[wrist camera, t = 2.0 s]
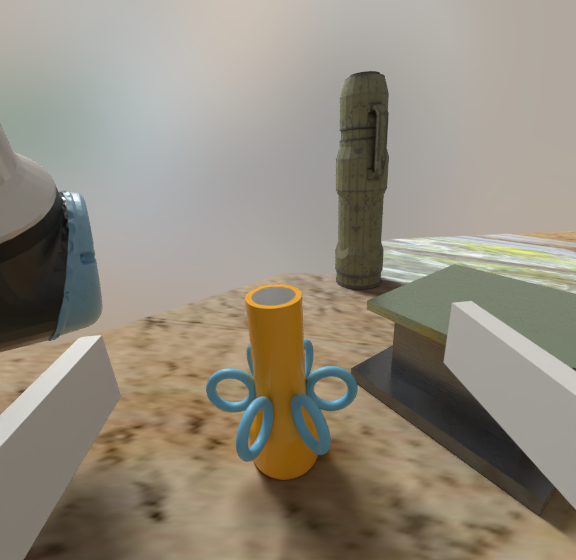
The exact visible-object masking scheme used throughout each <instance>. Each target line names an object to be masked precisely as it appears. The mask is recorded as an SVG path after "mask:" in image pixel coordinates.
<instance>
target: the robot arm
mask: <svg viewBox="0 0 576 560" xmlns="http://www.w3.org/2000/svg"><path fill="white" fill-rule="evenodd" d="M101 312H102V296H101V288H100V281H99V275H98V269H97V263H96V259H95V252H94V246H93V238H92V233H91V227H90V222H89V217H88V212H87V208H86V204H85V201H84V198H83V197H82V196H81V195H80V194H77V193H70V192H67V191H61V192H58V190H57V188H56V185H55V183H54V180H53V179H52V177H51V175H50V174H49V173H48V171H47V170H46V169H45V168H44V167H42V166H41V165H40V164H38V163H36V162H35V161H33V160H31V159H29V158H26V157H24V156H22V155H20V154H17V153H15V152H13V151H12V149H11V146H10V144H9V142H8V139H7V137H6V135H5V133H4V131H3V129H2V127H1V124H0V352H3V351H7V350H11V349H15V348H19V347H23V346H27V345H31V344H35V343H39V342H43V341H47V340H49V341H50V340H55V339H56V338H58V337H59V336H60V335H63V334H67V333H69V332H73V331H76V330H79V329H82V328H86V327H88V326H90V325H92V324H94V323H95V322H96V321H97V320H98V318H99V317H100V315H101ZM443 363H444V364H445V365H446V366H447V367H448V368H449V369H450V370H451V371H452V373H453V374H454V375H455V376H456V377H457V378H458V379H459V380H460V382H461V383H462V384H463V385H464V386H465V387H466V388H467V389H468V390H469V392H470V393H471V394H472V395H473V396H474V397H475V398H476V399H477V400H478V402H479V403H480V404H481V405H482V406H483V407H484V408H485V409H486V410H487V412H488V413H489V414H490V415H491V416H492V417H493V418H494V419H495V420H496V422H497V423H498V424H499V425H500V426H501V427H502V428H503V429H504V430H505V432H506V433H507V434H508V435H509V436H510V437H511V438H512V439H513V440H514V442H515V443H516V444H517V445H518V446H519V447H520V448H521V449H522V450H523V452H524V453H525V454H526V455H527V456H528V457H529V458H530V459H531V461H532V462H533V463H534V464H535V465H536V466H537V467H538V468H539V469H540V471H541V472H542V473H543V474H544V475H545V476H546V477H547V478H548V479H549V481H550V482H551V483H552V484H553V485H554V486H555V487H556V488H557V489H558V491H559V492H560V493H561V494H562V495H563V496H564V497H565V498H566V499H567V501H568V502H569V503H570V504H571V505H572V506H573V507H574V508H575V509H576V368H570V367H569V366H567V365H566V364H564V363H563V362H561V361H560V360H558V359H557V358H555V357H554V356H552V355H551V354H549V353H548V352H546V351H545V350H543V349H542V348H541V347H539V346H538V345H536V344H535V343H533V342H532V341H530V340H529V339H527V338H526V337H524V336H523V335H521V334H520V333H518V332H517V331H515V330H514V329H512V328H511V327H509V326H508V325H506V324H505V323H503V322H502V321H500V320H499V319H497V318H496V317H494V316H493V315H491V314H490V313H488V312H487V311H485V310H484V309H482V308H481V307H479V306H478V305H477V304H475V303H474V302H472V301H465V302H455V303H452V306H451V313H450V320H449V327H448V334H447V341H446V348H445V355H444V362H443ZM120 397H121V394H120V391H119V388H118V385H117V382H116V378H115V375H114V372H113V369H112V366H111V363H110V360H109V357H108V354H107V350H106V347H105V344H104V341H103V338H102V335H100V336H89V337H80V338H79V339H78V340H77V341H76V342H75V343H74V344H73V345H72V346H70V347H69V348H68V349H67V350H66V351H65V352H64V353H63V354H62V355H61V356H60V357H59V358H58V359H57V360H56V361H55V362H54V363H53V364H52V365H51V366H50V367H49V368H48V369H47V370H46V371H45V372H44V373H43V374H42V375H41V376H40V377H39V378H38V379H37V380H36V381H35V382H34V383H33V384H32V385H31V386H30V387H29V388H28V389H27V390H25V391H24V392H23V393H22V394H21V395H20V396H19V397H18V398H17V399H16V400H15V401H14V402H13V403H12V404H11V405H10V406H9V407H8V408H7V409H6V410H5V411H4V412H3V413H2V414H1V415H0V560H24V558H25V557H26V555H27V553H28V551H29V550H30V548H31V546H32V545H33V543H34V541H35V540H36V538H37V536H38V535H39V533H40V531H41V530H42V528H43V526H44V525H45V523H46V521H47V520H48V518H49V516H50V514H51V513H52V511H53V509H54V508H55V506H56V504H57V503H58V501H59V499H60V498H61V496H62V494H63V493H64V491H65V489H66V488H67V486H68V484H69V483H70V481H71V479H72V477H73V476H74V474H75V472H76V471H77V469H78V467H79V466H80V464H81V462H82V461H83V459H84V457H85V456H86V454H87V452H88V451H89V449H90V447H91V446H92V444H93V442H94V440H95V439H96V437H97V435H98V434H99V432H100V430H101V429H102V427H103V425H104V424H105V422H106V420H107V419H108V417H109V415H110V414H111V412H112V410H113V409H114V407H115V405H116V403H117V402H118V400H119V398H120Z"/></svg>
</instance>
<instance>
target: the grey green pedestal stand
mask: <svg viewBox="0 0 576 560" xmlns="http://www.w3.org/2000/svg"><path fill="white" fill-rule="evenodd" d="M465 301H472V302H474V303H475V304H477V305H478V306H479V307H481V308H482V309H484V310H485V311H487V312H488V313H490V314H491V315H493V316H494V317H496V318H497V319H499V320H500V321H502V322H503V323H505V324H506V325H508V326H509V327H511V328H512V329H514V330H515V331H517V332H518V333H520V334H521V335H523V336H524V337H526V338H527V339H529V340H530V341H532V342H533V343H535V344H536V345H538V346H539V347H541V348H542V349H543V350H545V351H546V352H548V353H549V354H551V355H552V356H554V357H555V358H557V359H558V360H560V361H561V362H563V363H564V364H566V365H567V366H569V367H570V368H576V294H573V293H569V292H565V291H561V290H557V289H553V288H549V287H545V286H541V285H537V284H533V283H529V282H525V281H520V280H516V279H512V278H508V277H504V276H500V275H496V274H492V273H488V272H484V271H480V270H476V269H472V268H467V267H463V266H459V265H455V264H454V265H452V266H449V267H447V268H444V269H442V270H440V271H437V272H435V273H432V274H430V275H428V276H425V277H423V278H420V279H418V280H416V281H413V282H411V283H408V284H406V285H404V286H401V287H399V288H396V289H394V290H392V291H389V292H387V293H384V294H382V295H379V296H377V297H375V298H372V299H370V300H367V310H370V311H372V312H374V313H376V314H378V315H380V316H383V317H385V318H387V319H389V320H391V321H393V322H395V328H394V340H393V346H391V347H389V348H387V349H386V350H384V351H382V352H380V353H378V354H376V355H375V356H373V357H371V358H369V359H367V360H366V361H364V362H362V363H360V364H358V365H357V366H355V367H353V368H351V374H352V375H353V377H354V378H355V380H356V383H357V384H358V385H360V386H361V387H363V388H364V389H365V390H367V391H368V392H369V393H371V394H372V395H374V396H375V397H376V398H378V399H379V400H380V401H382V402H383V403H385V404H386V405H387V406H389V407H390V408H391V409H393V410H394V411H396V412H397V413H398V414H400V415H401V416H402V417H404V418H405V419H407V420H408V421H409V422H411V423H412V424H413V425H415V426H416V427H418V428H419V429H420V430H422V431H423V432H424V433H426V434H427V435H429V436H430V437H431V438H433V439H434V440H435V441H437V442H438V443H440V444H441V445H442V446H444V447H445V448H446V449H448V450H449V451H451V452H452V453H453V454H455V455H456V456H457V457H459V458H460V459H462V460H463V461H464V462H466V463H467V464H468V465H470V466H471V467H473V468H474V469H475V470H477V471H478V472H479V473H481V474H482V475H484V476H485V477H486V478H488V479H489V480H490V481H492V482H493V483H495V484H496V485H497V486H499V487H500V488H501V489H503V490H504V491H506V492H507V493H508V494H510V495H511V496H512V497H514V498H515V499H517V500H518V501H519V502H521V503H522V504H523V505H525V506H526V507H528V508H529V509H530V510H532V511H533V512H534V513H536V514H537V515H540V514H541V512H542V510H543V509H544V507H545V506H546V504H547V503H548V501H549V500H550V498H551V497H552V495H553V493H554V492H555V490H556V489H557V488H556V487H555V486H554V485H553V484H552V483H551V482H550V481H549V479H548V478H547V477H546V476H545V475H544V474H543V473H542V472H541V471H540V469H539V468H538V467H537V466H536V465H535V464H534V463H533V462H532V461H531V459H530V458H529V457H528V456H527V455H526V454H525V453H524V452H523V450H522V449H521V448H520V447H519V446H518V445H517V444H516V443H515V442H514V440H513V439H512V438H511V437H510V436H509V435H508V434H507V433H506V432H505V430H504V429H503V428H502V427H501V426H500V425H499V424H498V423H497V422H496V420H495V419H494V418H493V417H492V416H491V415H490V414H489V413H488V412H487V410H486V409H485V408H484V407H483V406H482V405H481V404H480V403H479V402H478V400H477V399H476V398H475V397H474V396H473V395H472V394H471V393H470V392H469V390H468V389H467V388H466V387H465V386H464V385H463V384H462V383H461V382H460V380H459V379H458V378H457V377H456V376H455V375H454V374H453V373H452V371H451V370H450V369H449V368H448V367H447V366H446V365H445V364H444V363H443V362H444V355H445V348H446V341H447V334H448V327H449V320H450V313H451V306H452V303H455V302H465Z"/></svg>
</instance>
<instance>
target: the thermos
mask: <svg viewBox="0 0 576 560" xmlns="http://www.w3.org/2000/svg"><path fill="white" fill-rule="evenodd" d="M387 128H388V89H387V85H386V81H385V76H384V75H383V74H380V73H379V72H375V71H369V72H361V73H356V74H353V75H351V76H350V77H349V78H347V79H346V80H345V83H344V86H343V90H342V94H341V98H340V131H341V141H340V149H339V152H338V155H337V159H336V191H337V193H338V195H339V232H338V233H339V235H338V238H339V239H338V240H339V241H338V244H337V247H336V264H335V269H336V271H337V277H336V282H337V283H338V284H339V285H340V286H342V287H345V288H349V289H360V290H363V289H370V288H374V287H376V286H378V285H379V284H380V283H381V271H382V266H383V247H382V244H381V232H382V214H383V197H384V193H385V191H386V189H387V177H388V162H389V156H388V152H387V148H386V146H387V130H388V129H387Z"/></svg>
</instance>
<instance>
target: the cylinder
mask: <svg viewBox="0 0 576 560" xmlns="http://www.w3.org/2000/svg"><path fill="white" fill-rule="evenodd" d="M245 302H246V311H247V319H248V328H249V336H250V344H249V345H248V347H247V360H248V364H249V367H250V370H251V373H252V375H253V377H254V379H253V378H252V377H251V376H250V375H249V374H248V373H246V372H244V371H242V370H239V369H234V368H227V369H222V370H220V371H217V372H216V373H214V374H213V375H212V376H211V377H210V379H209V380H208V382H207V386H206V392H207V396H208V398H209V400H210V401H211V402H212V403H213V404H214V405H215V406H216V407H217V408H219V409H221V410H224V411H227V412H241V411H244V410H246V411H245V413H244V415H243V417H242V419H241V422H240V424H239V428H238V432H237V438H236V449H237V453H238V456H239V457H240V458H241V459H242V460H243V461H252V460H254V463H255V464H256V466H257V467H258V468H259V470H260V471H262V472H263V473H264V474H265V475H267V476H269V477H271V478H275V479H280V480H288V479H294V478H297V477H299V476H301V475H303V474H305V473H306V472H307V471H309V470H310V469H311V467H312V466H313V465H314V464H315V462H316V460H317V458H318V455H324V454H326V453H327V452H328V450H329V448H330V444H331V439H330V432H329V429H328V425H327V423H326V420H325V418H324V416H323V414H322V412H321V410H326V411H335V410H340V409H343V408H345V407H347V406H348V405H349V404H350V403H352V401H353V400H354V399H355V397H356V394H357V383H356V380H355V378H354V377H353V375H352V374H351V373H350V372H348V371H347V370H345V369H343V368H340V367H336V366H326V367H322V368H319V369H317V370H315V371H314V372H312V373H311V374H310V371H311V367H312V363H313V346H312V343H311V342H310V341H309V340H308V339H304V333H303V309H302V293H301V291H300V290H299V289H297V288H295V287H293V286H289V285H280V284H276V285H266V286H262V287H258V288H256V289H253V290H252V291H250V292H249V293H248V294H247V295H246V296H245ZM304 349H305V356H304ZM309 374H310V375H309ZM328 376H334V377H338V378H341V379H342V380H344V381H345V382H346V384H347V387H348V389H347V392H346V394H345V395H344V396H343V397H342V398H340V399H338V400H334V401H326V400H323V399H320V398H319V397H317V396H316V394H315V393H314V385H315V384H316V382H317V381H318V380H320V379H322V378H324V377H328ZM228 378H232V379H237V380H240V381H241V382H243V383H244V384H245V385H246V386H247V388H248V390H249V395H248V397H247V398H246V399H245V400H243V401H241V402H228V401H226V400H224V399H222V398H221V397H220V396H219V395H218V394H217V391H216V386H217V384H218V383H219V382H220V381H221V380H223V379H228ZM320 409H321V410H320ZM248 437H250V445H251V447H250V448H248Z"/></svg>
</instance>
